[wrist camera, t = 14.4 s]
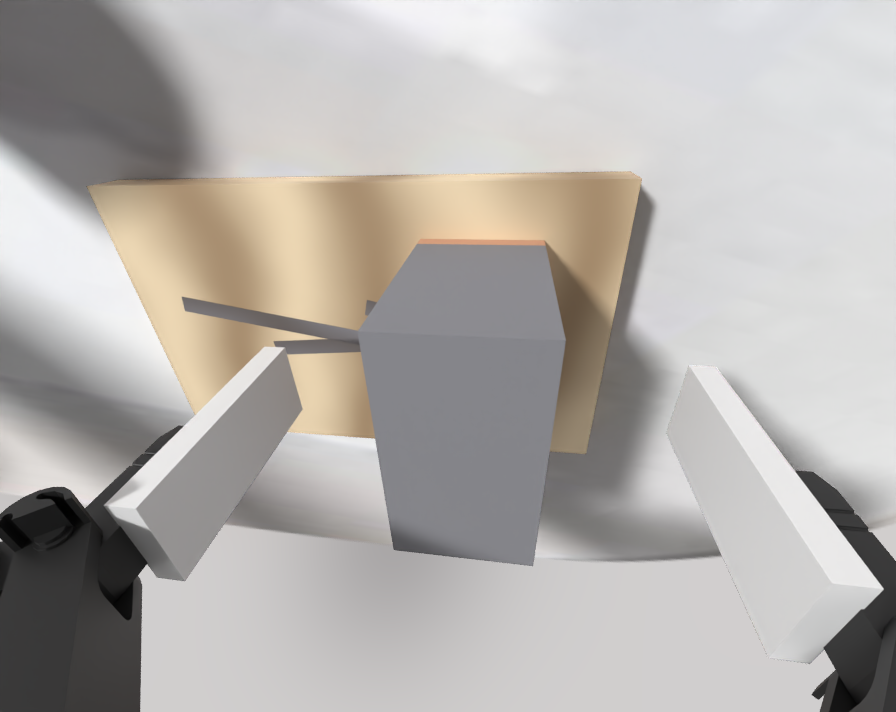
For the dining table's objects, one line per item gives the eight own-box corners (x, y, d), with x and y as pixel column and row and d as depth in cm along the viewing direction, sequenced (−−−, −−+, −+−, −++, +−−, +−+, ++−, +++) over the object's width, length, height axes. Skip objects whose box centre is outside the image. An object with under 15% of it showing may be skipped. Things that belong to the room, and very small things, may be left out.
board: (217, 407, 23) (199, 425, 22) (118, 179, 17) (85, 186, 15) (581, 432, 20) (585, 454, 19) (630, 171, 14) (642, 178, 13)
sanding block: (431, 410, 19) (393, 549, 13) (420, 238, 15) (357, 331, 9) (526, 416, 18) (532, 566, 12) (544, 240, 14) (565, 340, 8)
